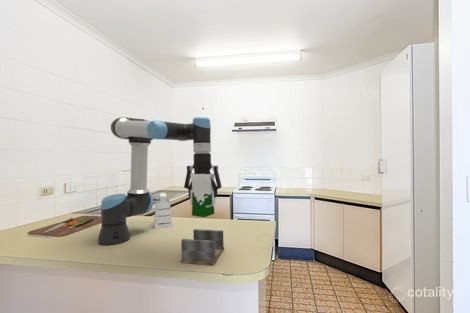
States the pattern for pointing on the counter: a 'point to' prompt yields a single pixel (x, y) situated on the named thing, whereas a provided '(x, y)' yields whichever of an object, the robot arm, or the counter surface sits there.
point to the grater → (163, 212)
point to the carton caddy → (203, 247)
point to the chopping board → (66, 227)
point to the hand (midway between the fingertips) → (203, 204)
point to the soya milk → (202, 194)
